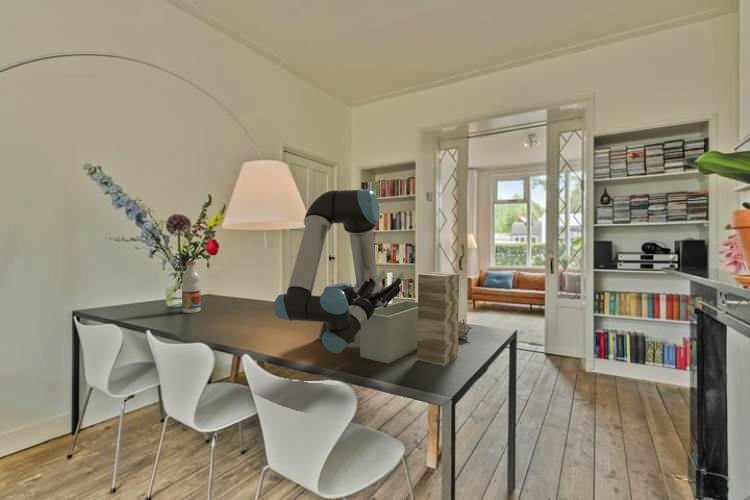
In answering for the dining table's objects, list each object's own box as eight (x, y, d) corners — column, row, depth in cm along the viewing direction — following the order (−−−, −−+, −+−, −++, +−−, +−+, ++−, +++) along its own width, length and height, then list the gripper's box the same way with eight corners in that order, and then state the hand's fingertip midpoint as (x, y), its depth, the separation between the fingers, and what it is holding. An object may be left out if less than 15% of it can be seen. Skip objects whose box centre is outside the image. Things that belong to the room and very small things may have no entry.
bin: (388, 363, 123) (388, 316, 122) (360, 356, 130) (360, 312, 129) (429, 342, 148) (430, 303, 147) (404, 337, 155) (404, 300, 154)
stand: (443, 365, 121) (445, 276, 120) (417, 359, 127) (418, 274, 126) (457, 356, 131) (459, 273, 130) (432, 351, 137) (433, 271, 136)
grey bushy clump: (464, 348, 153) (472, 333, 147) (444, 340, 154) (452, 324, 148) (467, 333, 160) (475, 318, 154) (449, 325, 161) (456, 310, 155)
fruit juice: (187, 309, 210) (186, 261, 209) (203, 309, 211) (203, 261, 210) (178, 313, 201) (178, 262, 200) (196, 313, 201) (195, 263, 200)
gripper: (339, 317, 126) (373, 279, 141) (387, 327, 114) (419, 284, 129) (332, 300, 122) (368, 263, 138) (380, 308, 110) (414, 267, 126)
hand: (392, 273), depth 133 cm, fingers open, 7 cm apart
